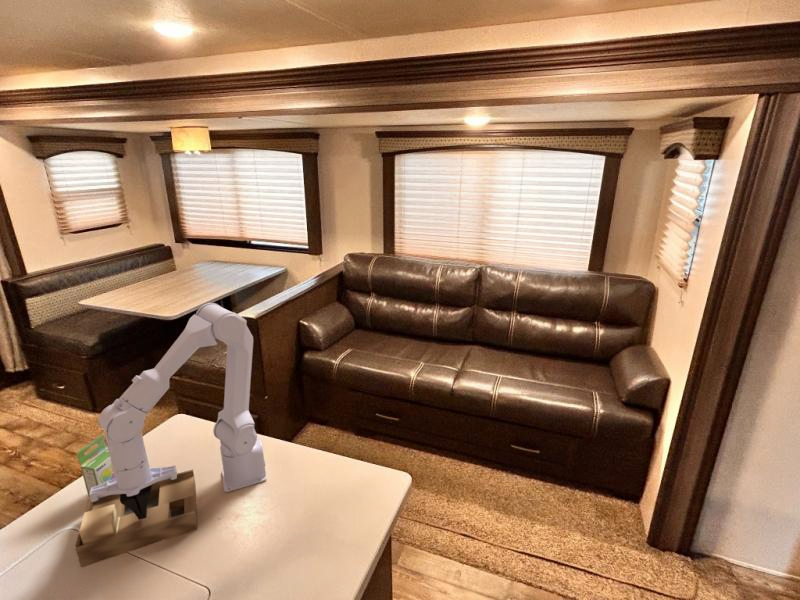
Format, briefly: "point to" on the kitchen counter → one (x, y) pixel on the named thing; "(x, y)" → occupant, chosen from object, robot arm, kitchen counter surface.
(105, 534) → the maple block
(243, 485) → the robot arm
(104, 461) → the ink box
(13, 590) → the kitchen counter surface
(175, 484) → the box
